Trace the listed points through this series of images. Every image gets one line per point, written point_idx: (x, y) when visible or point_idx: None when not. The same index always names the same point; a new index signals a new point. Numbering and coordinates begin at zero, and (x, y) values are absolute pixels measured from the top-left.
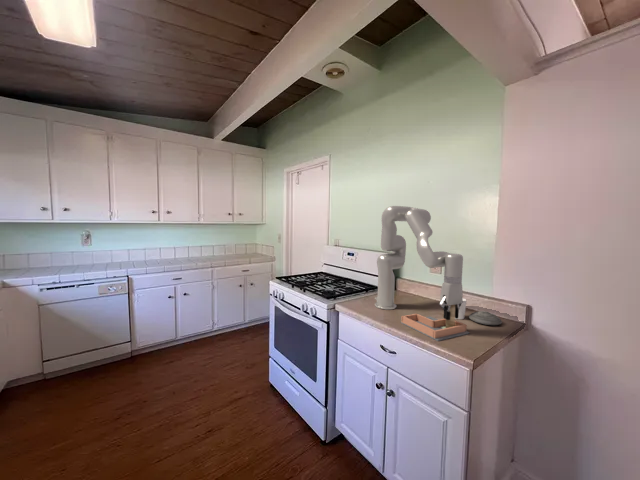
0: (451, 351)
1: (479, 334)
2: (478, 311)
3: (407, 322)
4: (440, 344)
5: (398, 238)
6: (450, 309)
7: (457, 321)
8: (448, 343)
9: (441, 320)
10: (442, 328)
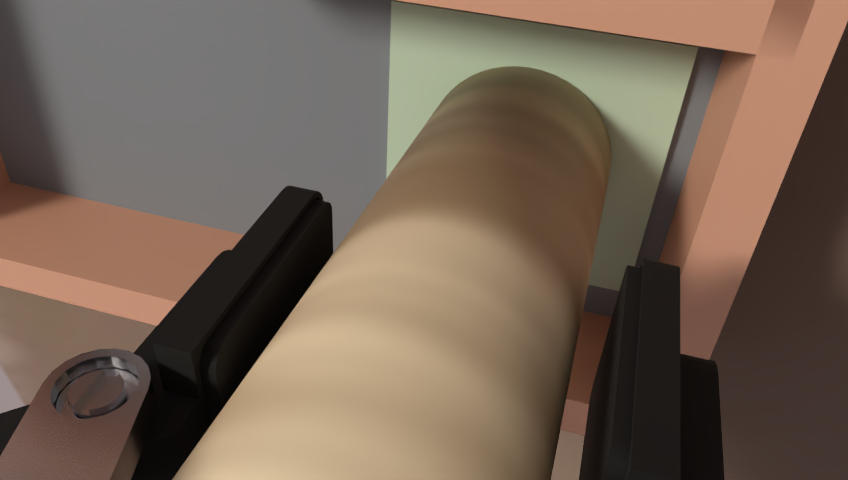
0: (28, 401)
1: (766, 476)
2: None
3: None
4: (6, 287)
5: None
6: None
7: (724, 288)
8: (109, 327)
9: (433, 2)
10: (382, 56)
